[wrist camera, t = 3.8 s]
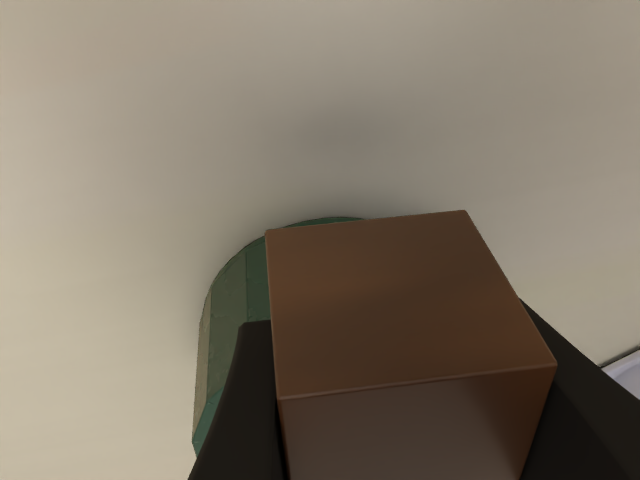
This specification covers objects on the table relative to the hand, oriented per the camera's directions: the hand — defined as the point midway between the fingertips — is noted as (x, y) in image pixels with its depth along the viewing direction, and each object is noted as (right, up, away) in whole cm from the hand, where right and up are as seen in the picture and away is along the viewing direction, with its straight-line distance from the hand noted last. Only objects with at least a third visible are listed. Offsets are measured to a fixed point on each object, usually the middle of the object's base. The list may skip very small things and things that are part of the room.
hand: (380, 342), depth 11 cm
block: (0, +1, +1) cm, 1 cm away
